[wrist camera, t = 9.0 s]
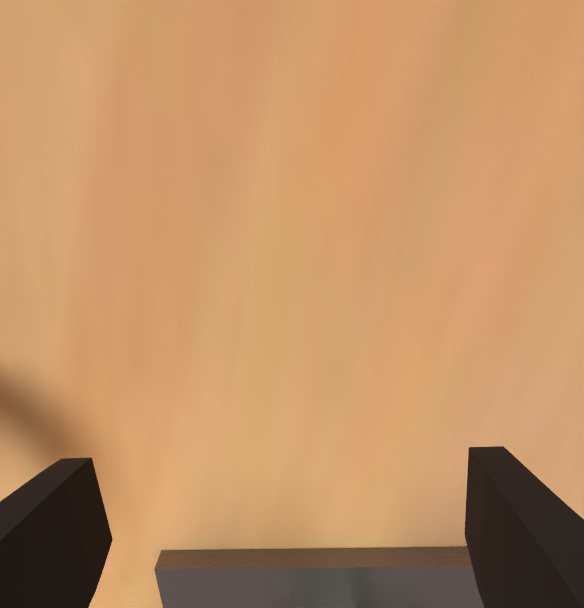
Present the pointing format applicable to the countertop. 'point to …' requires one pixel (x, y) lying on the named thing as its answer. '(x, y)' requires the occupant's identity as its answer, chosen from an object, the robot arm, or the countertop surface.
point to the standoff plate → (318, 578)
